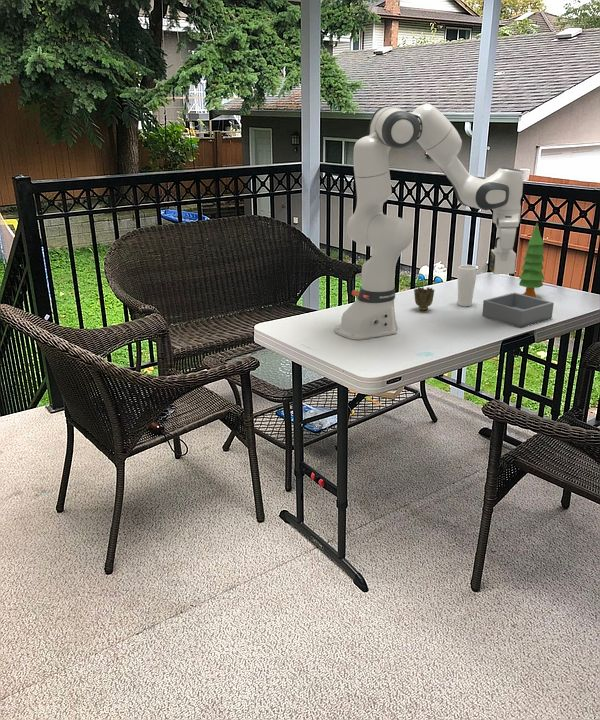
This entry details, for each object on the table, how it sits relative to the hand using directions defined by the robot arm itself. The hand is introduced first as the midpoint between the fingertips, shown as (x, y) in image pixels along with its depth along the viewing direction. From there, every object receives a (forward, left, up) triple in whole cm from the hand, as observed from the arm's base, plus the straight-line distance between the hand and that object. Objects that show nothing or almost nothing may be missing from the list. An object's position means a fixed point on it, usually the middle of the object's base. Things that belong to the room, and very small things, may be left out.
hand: (503, 257), depth 220 cm
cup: (-13, +24, -23) cm, 35 cm away
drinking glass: (+4, +19, -23) cm, 30 cm away
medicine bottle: (0, 0, -5) cm, 5 cm away
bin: (+7, -3, -22) cm, 24 cm away
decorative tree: (+32, +11, -23) cm, 40 cm away
